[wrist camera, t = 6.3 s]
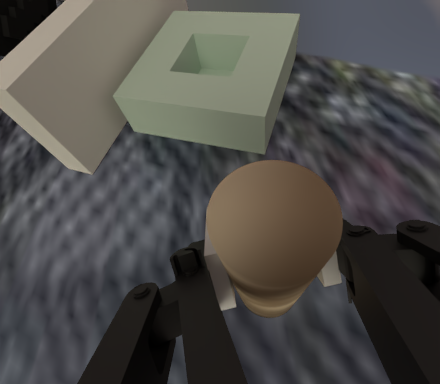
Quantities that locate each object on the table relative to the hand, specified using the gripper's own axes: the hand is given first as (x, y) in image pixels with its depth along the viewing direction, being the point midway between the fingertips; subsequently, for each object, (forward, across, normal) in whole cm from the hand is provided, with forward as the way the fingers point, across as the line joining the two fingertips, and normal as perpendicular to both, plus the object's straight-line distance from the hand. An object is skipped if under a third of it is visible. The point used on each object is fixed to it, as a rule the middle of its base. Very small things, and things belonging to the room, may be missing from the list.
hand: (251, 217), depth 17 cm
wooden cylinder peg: (0, 0, -5) cm, 5 cm away
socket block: (+15, 0, +9) cm, 17 cm away
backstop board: (+18, -8, +13) cm, 24 cm away
